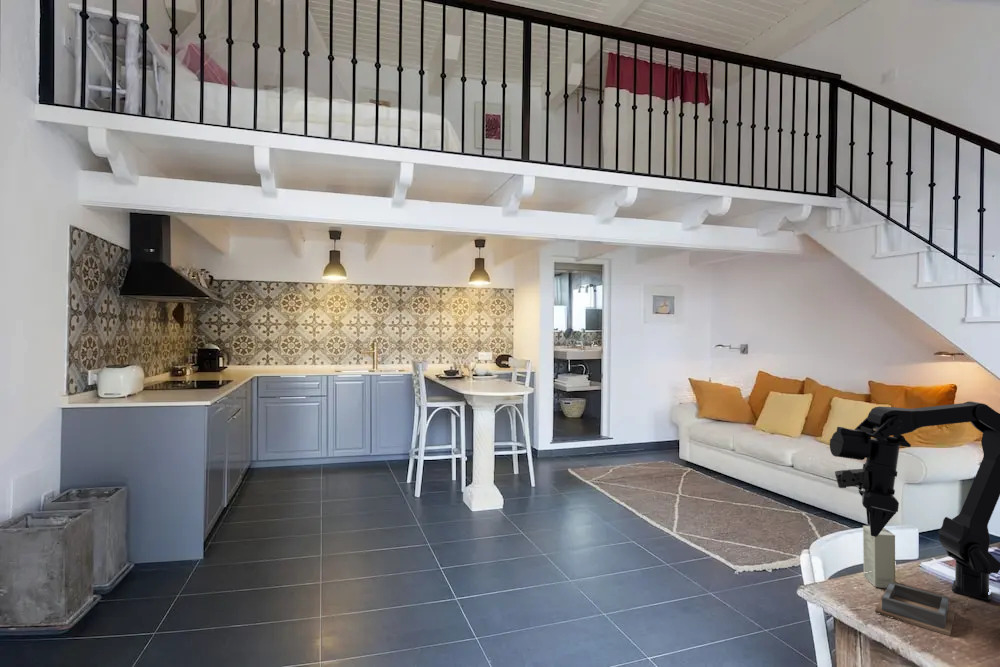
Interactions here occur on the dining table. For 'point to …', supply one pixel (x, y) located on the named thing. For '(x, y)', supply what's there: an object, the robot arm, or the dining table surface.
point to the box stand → (917, 608)
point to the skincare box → (879, 557)
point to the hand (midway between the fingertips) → (871, 530)
